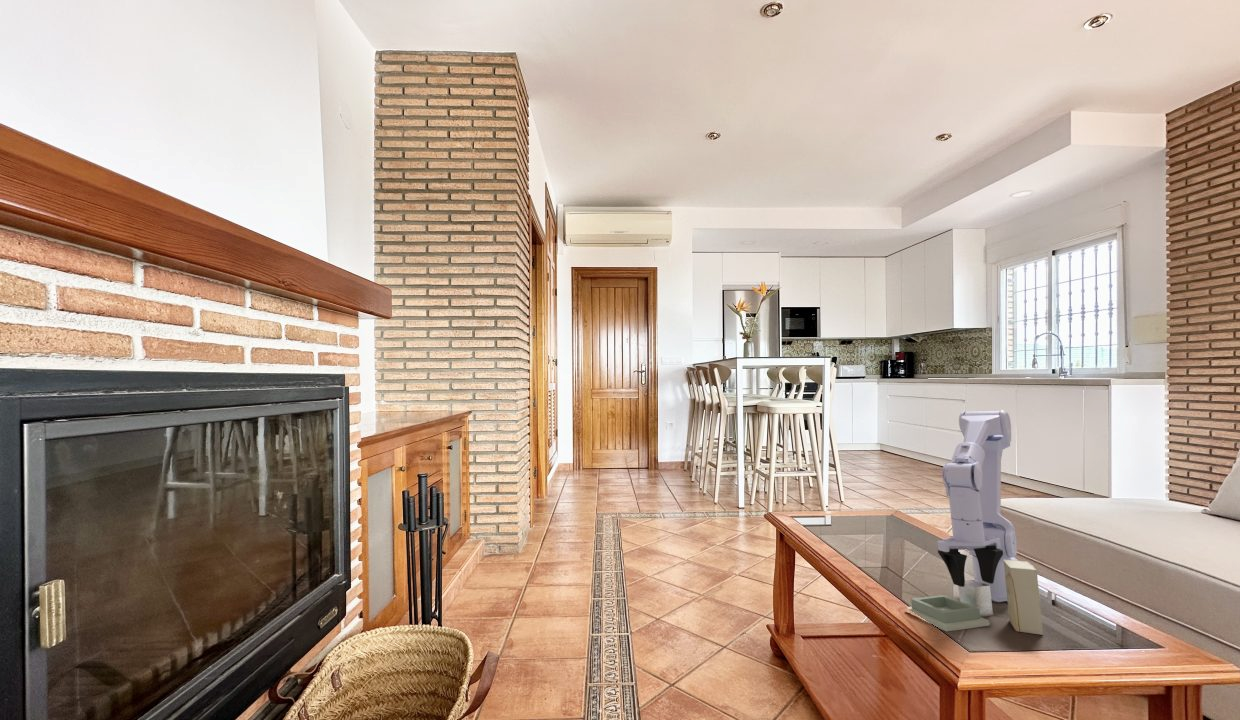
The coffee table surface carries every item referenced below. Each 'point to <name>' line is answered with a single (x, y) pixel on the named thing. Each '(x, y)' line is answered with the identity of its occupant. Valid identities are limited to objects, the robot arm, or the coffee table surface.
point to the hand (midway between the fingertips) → (973, 583)
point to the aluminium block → (977, 596)
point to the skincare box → (1023, 596)
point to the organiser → (947, 613)
